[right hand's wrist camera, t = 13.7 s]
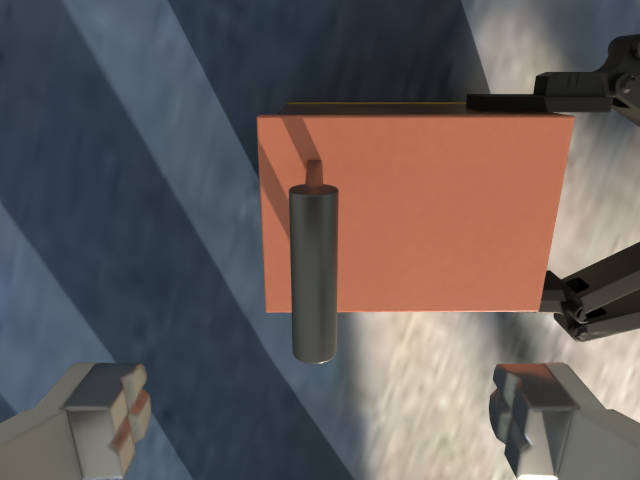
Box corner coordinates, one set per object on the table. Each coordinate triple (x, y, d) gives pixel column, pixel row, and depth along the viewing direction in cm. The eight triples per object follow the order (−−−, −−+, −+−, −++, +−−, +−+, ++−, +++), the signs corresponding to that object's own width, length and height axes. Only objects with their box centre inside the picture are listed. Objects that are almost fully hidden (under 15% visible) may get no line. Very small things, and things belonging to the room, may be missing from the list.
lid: (267, 304, 25) (245, 405, 17) (258, 114, 21) (227, 137, 14) (531, 303, 25) (624, 403, 17) (565, 114, 21) (699, 136, 14)
